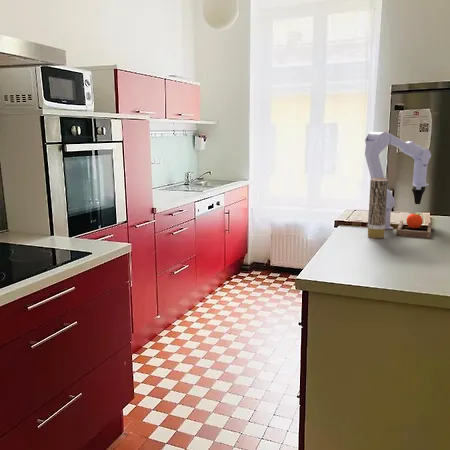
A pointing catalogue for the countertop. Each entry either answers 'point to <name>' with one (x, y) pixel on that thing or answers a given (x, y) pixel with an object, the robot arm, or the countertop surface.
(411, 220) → the clementine
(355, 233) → the countertop surface
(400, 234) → the holder
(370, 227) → the paper tube
